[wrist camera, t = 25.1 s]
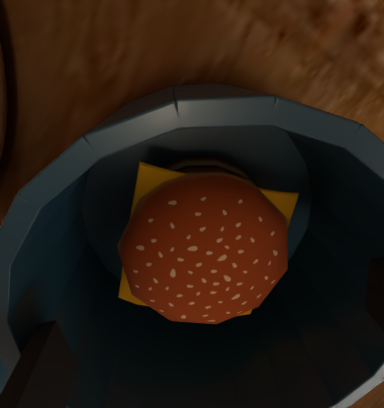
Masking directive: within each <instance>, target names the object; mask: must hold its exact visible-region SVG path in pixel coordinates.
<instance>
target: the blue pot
mask: <svg viewBox="0 0 384 408" xmlns="http://www.w3.org/2000/svg"><path fill="white" fill-rule="evenodd" d="M184 157H217V158H219V159H222V160H224V161H227V162H229V163H231V164H234V165H236V166H239V167H240V168H241V169H242V170H243V171H244V172H245V173H246V174H247V175H248V176H249V177H250V178H251V179H252V180H253V181H254V182H255V183H256V184H257V185H258V187H259V188H264V189H270V190H276V191H281V192H296V193H299V195H298V198H297V201H296V204H295V207H294V210H293V213H292V216H291V219H290V222H289V225H288V229H287V236H288V269H287V271H286V272H285V273H284V275H283V276H282V277H281V278H280V280H279V281H278V282H277V284H276V285H275V286H274V287H273V289H272V290H271V291H270V293H269V294H268V295H267V297H266V298H265V299H264V300H263V302H262V303H261V304H260V306H259V307H257V308H254V309H252V311H251V313H250V314H247V315H240V316H235V317H233V318H230V319H228V320H225V321H223V322H221V323H218V324H206V323H192V322H178V321H170V320H169V319H167V318H166V317H164V316H163V315H161V314H160V313H158V312H157V311H155V310H154V309H152V308H151V307H149V306H143V305H137V304H134V303H132V302H129V301H126V300H124V299H121V298H119V297H118V294H119V287H120V280H121V274H122V267H123V265H122V261H121V258H120V255H119V251H118V247H117V245H118V243H119V241H120V239H121V236H122V234H123V232H124V230H125V228H126V226H127V224H128V222H129V219H130V216H131V210H132V203H133V197H134V191H135V185H136V179H137V173H138V167H139V162H144V163H147V164H150V165H154V166H157V167H163V166H165V165H167V164H170V163H172V162H175V161H177V160H179V159H182V158H184ZM381 256H384V143H383V142H382V141H381V140H380V139H379V138H378V137H377V136H375V135H374V134H373V133H372V132H371V131H370V130H369V129H367V128H366V127H365V126H364V125H363V124H359V123H358V122H356V121H353V120H350V119H347V118H344V117H341V116H338V115H335V114H332V113H329V112H325V111H322V110H319V109H316V108H313V107H310V106H307V105H304V104H301V103H298V102H295V101H292V100H289V99H286V98H283V97H280V96H276V95H271V94H266V93H262V92H257V91H252V90H248V89H243V88H239V87H234V86H229V85H225V84H192V85H173V86H170V87H167V88H164V89H162V90H159V91H157V92H154V93H151V94H148V95H146V96H144V97H141V98H139V99H136V100H134V101H131V102H129V103H127V104H126V105H125V106H123V107H122V108H120V109H119V110H117V111H116V112H115V113H113V114H112V115H110V116H109V117H107V118H106V119H105V120H103V121H102V122H100V123H99V124H97V125H96V126H95V127H93V128H92V129H90V130H89V131H87V132H86V133H85V134H83V135H82V136H80V137H79V138H78V139H77V140H76V141H75V142H74V143H72V144H71V145H70V146H69V147H68V148H67V149H66V150H64V151H63V152H62V153H61V154H60V155H59V156H58V157H57V158H55V159H54V160H53V161H52V162H51V163H50V164H49V165H47V166H46V167H45V168H44V169H43V170H42V171H41V172H40V173H38V174H37V175H36V176H35V177H34V178H33V179H32V180H30V181H29V182H28V183H27V184H26V185H25V186H24V187H22V188H21V189H20V190H19V191H18V193H17V194H16V196H15V198H14V200H13V202H12V204H11V206H10V208H9V210H8V212H7V214H6V216H5V218H4V221H3V223H2V225H1V227H0V356H1V359H2V361H3V363H4V365H5V368H6V370H8V372H9V373H10V374H11V373H12V371H13V370H14V368H15V366H16V364H17V362H18V360H19V358H20V356H21V354H22V352H23V351H24V349H25V347H26V345H27V343H28V341H29V339H30V337H31V335H32V334H33V332H34V330H35V328H36V326H37V324H39V323H44V322H49V321H54V320H56V321H57V323H58V325H59V327H60V329H61V331H62V333H63V335H64V336H65V338H66V340H67V342H68V344H69V346H70V348H71V350H72V351H73V353H74V355H75V357H76V359H77V361H78V363H79V366H78V370H77V373H76V376H75V379H74V382H73V386H72V389H71V392H70V395H69V399H68V402H67V405H66V408H348V407H349V406H350V405H352V404H353V403H354V402H356V401H357V400H358V399H360V398H361V397H362V396H364V395H365V394H366V393H368V392H369V391H370V390H372V389H373V388H374V387H376V386H377V385H378V384H380V383H381V382H382V381H384V331H383V330H382V329H381V328H380V327H379V325H378V324H377V323H376V322H375V321H374V319H373V318H372V317H371V316H370V315H369V313H368V312H367V311H366V310H365V301H366V290H367V280H368V269H369V259H371V258H376V257H381Z"/></svg>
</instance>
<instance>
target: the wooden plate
mask: <svg viewBox="0 0 384 408" xmlns="http://www.w3.org/2000/svg"><path fill="white" fill-rule="evenodd" d="M6 128H7V85H6V77H5V69H4V62H3V54H2V47H1V42H0V162H1V157H2V152H3V147H4V141H5V135H6Z"/></svg>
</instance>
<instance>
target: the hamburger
mask: <svg viewBox="0 0 384 408" xmlns="http://www.w3.org/2000/svg"><path fill="white" fill-rule="evenodd" d="M298 195H299V193H296V192H281V191H276V190H270V189H264V188H259V187H258V185H257V184H256V183H255V182H254V181H253V180H252V179H251V178H250V177H249V176H248V175H247V174H246V173H245V172H244V171H243V170H242V169H241V168H240V167H239V166H236V165H234V164H231V163H229V162H227V161H224V160H222V159H219V158H217V157H184V158H182V159H179V160H177V161H175V162H172V163H170V164H167V165H165V166H163V167H157V166H154V165H150V164H147V163H144V162H139V167H138V173H137V179H136V185H135V191H134V197H133V203H132V210H131V216H130V219H129V222H128V224H127V226H126V228H125V230H124V232H123V234H122V236H121V239H120V241H119V243H118V245H117V247H118V251H119V255H120V258H121V261H122V265H123V267H122V274H121V280H120V287H119V294H118V297H119V298H121V299H124V300H126V301H129V302H132V303H134V304H137V305H143V306H149V307H151V308H152V309H154V310H155V311H157V312H158V313H160V314H161V315H163V316H164V317H166V318H167V319H169V320H170V321H178V322H192V323H206V324H218V323H221V322H223V321H225V320H228V319H230V318H233V317H235V316H240V315H247V314H250V313H251V311H252V309H254V308H257V307H259V306H260V304H261V303H262V302H263V300H264V299H265V298H266V297H267V295H268V294H269V293H270V291H271V290H272V289H273V287H274V286H275V285H276V284H277V282H278V281H279V280H280V278H281V277H282V276H283V275H284V273H285V272H286V271H287V269H288V236H287V229H288V225H289V222H290V219H291V216H292V213H293V210H294V207H295V204H296V201H297V198H298Z"/></svg>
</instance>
